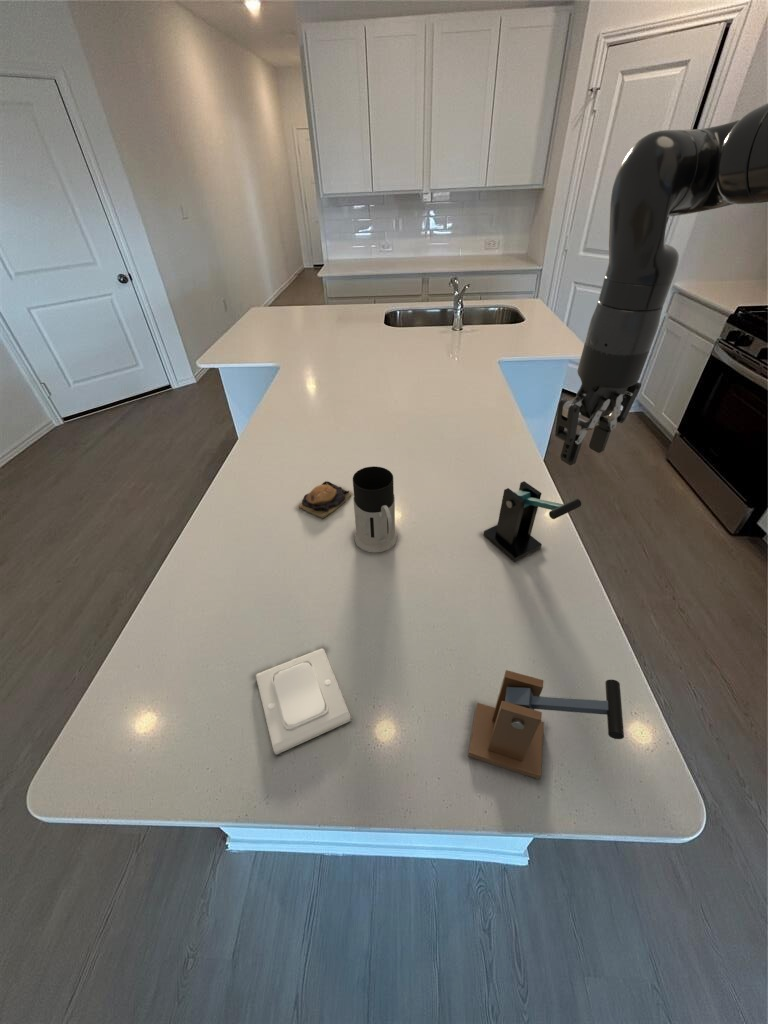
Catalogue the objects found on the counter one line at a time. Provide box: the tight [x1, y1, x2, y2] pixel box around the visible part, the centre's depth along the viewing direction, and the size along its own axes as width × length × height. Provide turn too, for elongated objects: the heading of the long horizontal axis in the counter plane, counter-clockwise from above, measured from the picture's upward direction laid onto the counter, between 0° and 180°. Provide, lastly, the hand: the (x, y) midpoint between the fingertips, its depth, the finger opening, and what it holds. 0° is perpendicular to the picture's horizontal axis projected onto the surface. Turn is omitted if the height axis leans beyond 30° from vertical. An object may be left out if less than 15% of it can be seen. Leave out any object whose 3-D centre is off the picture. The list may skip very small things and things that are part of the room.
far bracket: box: [482, 481, 543, 563], centre depth 84 cm, size 9×7×13 cm
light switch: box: [255, 648, 352, 755], centre depth 63 cm, size 11×4×13 cm
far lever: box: [513, 489, 582, 520], centre depth 77 cm, size 12×6×2 cm, turn 31°
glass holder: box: [352, 466, 398, 554], centre depth 83 cm, size 9×14×15 cm, turn 18°
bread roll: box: [298, 480, 352, 519], centre depth 98 cm, size 11×8×4 cm
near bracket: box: [467, 669, 544, 780], centre depth 55 cm, size 9×7×13 cm
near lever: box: [505, 679, 625, 740], centre depth 50 cm, size 12×6×2 cm, turn 71°
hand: (582, 455), depth 66 cm, fingers open, 5 cm apart
